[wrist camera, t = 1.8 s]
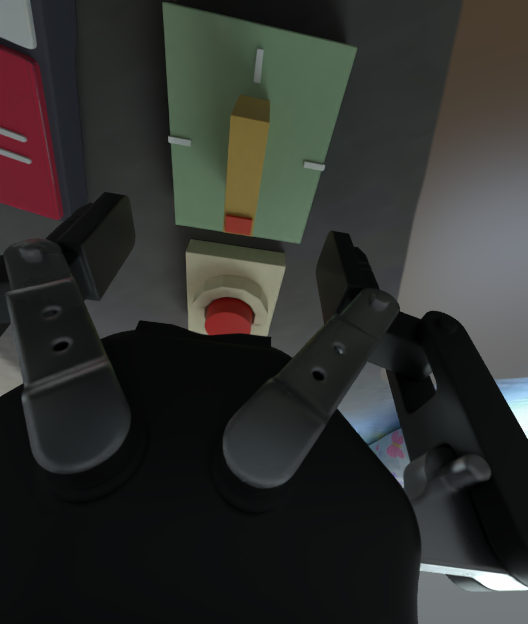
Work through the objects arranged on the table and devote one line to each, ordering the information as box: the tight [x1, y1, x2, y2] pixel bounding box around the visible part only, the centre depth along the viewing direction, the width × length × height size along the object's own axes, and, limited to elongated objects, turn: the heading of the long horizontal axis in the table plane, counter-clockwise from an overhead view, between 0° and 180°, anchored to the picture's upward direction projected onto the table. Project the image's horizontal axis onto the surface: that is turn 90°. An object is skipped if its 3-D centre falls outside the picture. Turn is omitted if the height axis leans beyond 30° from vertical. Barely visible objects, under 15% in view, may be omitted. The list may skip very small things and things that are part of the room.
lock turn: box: [223, 95, 270, 236], centre depth 17 cm, size 6×2×5 cm, turn 171°
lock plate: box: [162, 2, 357, 244], centre depth 20 cm, size 12×10×3 cm
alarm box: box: [186, 239, 286, 336], centre depth 30 cm, size 11×9×4 cm
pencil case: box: [369, 428, 410, 485], centre depth 55 cm, size 21×9×10 cm, turn 163°
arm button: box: [205, 297, 252, 335], centre depth 28 cm, size 4×4×2 cm
